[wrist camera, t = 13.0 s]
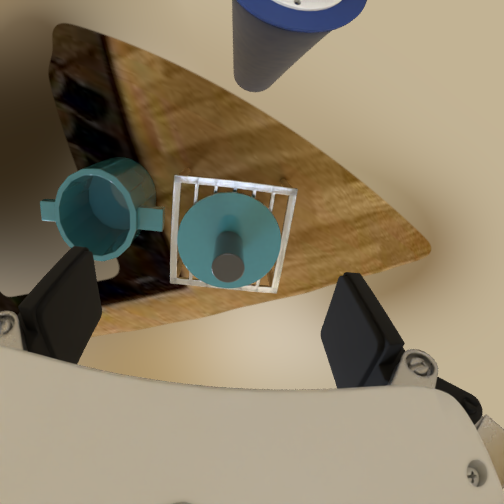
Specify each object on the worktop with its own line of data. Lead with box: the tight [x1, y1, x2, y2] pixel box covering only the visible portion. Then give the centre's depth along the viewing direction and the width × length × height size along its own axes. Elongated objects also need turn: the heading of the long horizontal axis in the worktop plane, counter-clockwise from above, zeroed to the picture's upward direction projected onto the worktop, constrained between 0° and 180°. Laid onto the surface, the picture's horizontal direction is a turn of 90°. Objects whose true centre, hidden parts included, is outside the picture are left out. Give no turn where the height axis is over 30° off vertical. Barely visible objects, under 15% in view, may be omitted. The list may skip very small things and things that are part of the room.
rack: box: [170, 167, 298, 293], centre depth 35 cm, size 13×13×6 cm
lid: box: [177, 192, 281, 288], centre depth 29 cm, size 11×11×7 cm
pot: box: [40, 157, 165, 261], centre depth 31 cm, size 10×16×8 cm, turn 82°
